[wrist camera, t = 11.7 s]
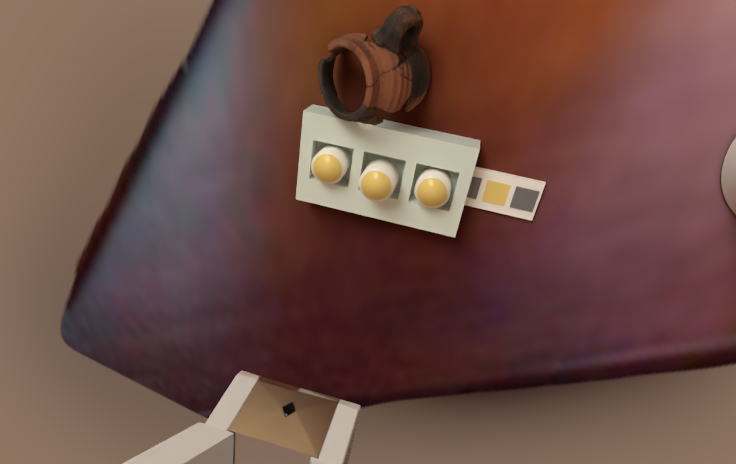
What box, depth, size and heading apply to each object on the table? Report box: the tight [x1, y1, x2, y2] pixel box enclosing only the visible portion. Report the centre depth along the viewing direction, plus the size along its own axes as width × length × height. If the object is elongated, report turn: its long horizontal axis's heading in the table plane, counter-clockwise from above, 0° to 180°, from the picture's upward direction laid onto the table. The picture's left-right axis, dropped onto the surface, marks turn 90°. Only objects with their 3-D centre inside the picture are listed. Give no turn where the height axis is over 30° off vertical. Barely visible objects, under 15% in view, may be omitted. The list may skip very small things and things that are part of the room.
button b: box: [359, 158, 399, 202], centre depth 48 cm, size 4×4×3 cm
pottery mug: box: [318, 5, 431, 125], centre depth 45 cm, size 12×10×8 cm
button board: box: [296, 104, 480, 238], centre depth 51 cm, size 18×10×3 cm, turn 80°
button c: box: [311, 144, 352, 184], centre depth 50 cm, size 4×4×3 cm
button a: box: [414, 166, 452, 208], centre depth 49 cm, size 4×4×3 cm
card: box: [464, 166, 546, 221], centre depth 50 cm, size 9×4×1 cm, turn 80°
